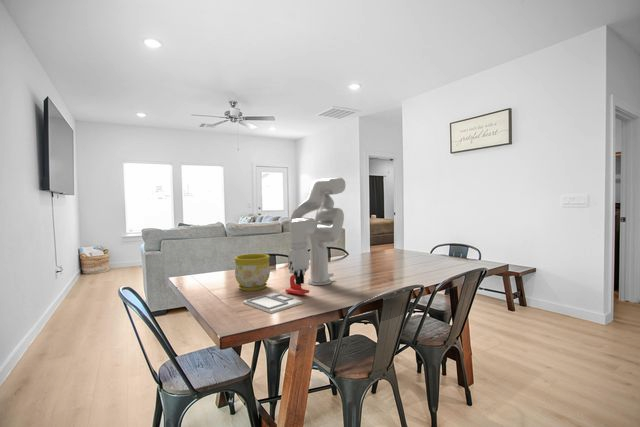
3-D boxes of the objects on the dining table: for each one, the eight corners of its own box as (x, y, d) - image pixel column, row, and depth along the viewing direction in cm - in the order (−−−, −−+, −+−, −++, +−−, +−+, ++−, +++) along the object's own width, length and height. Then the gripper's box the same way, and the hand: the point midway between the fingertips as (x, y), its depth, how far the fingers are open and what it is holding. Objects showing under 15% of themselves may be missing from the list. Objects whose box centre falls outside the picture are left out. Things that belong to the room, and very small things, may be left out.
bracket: (285, 291, 162) (284, 275, 162) (292, 289, 166) (291, 273, 166) (302, 294, 154) (300, 277, 154) (309, 292, 157) (307, 275, 157)
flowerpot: (262, 281, 186) (261, 252, 185) (276, 288, 171) (275, 256, 170) (230, 286, 176) (229, 255, 175) (242, 294, 161) (241, 260, 160)
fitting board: (274, 294, 159) (273, 291, 159) (302, 303, 145) (302, 299, 145) (243, 303, 147) (243, 299, 147) (271, 313, 133) (270, 309, 133)
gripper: (305, 243, 168) (306, 279, 169) (280, 247, 156) (282, 285, 158) (315, 244, 162) (316, 281, 164) (291, 249, 151) (292, 288, 152)
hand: (299, 283), depth 161 cm, fingers closed on bracket, 1 cm apart
